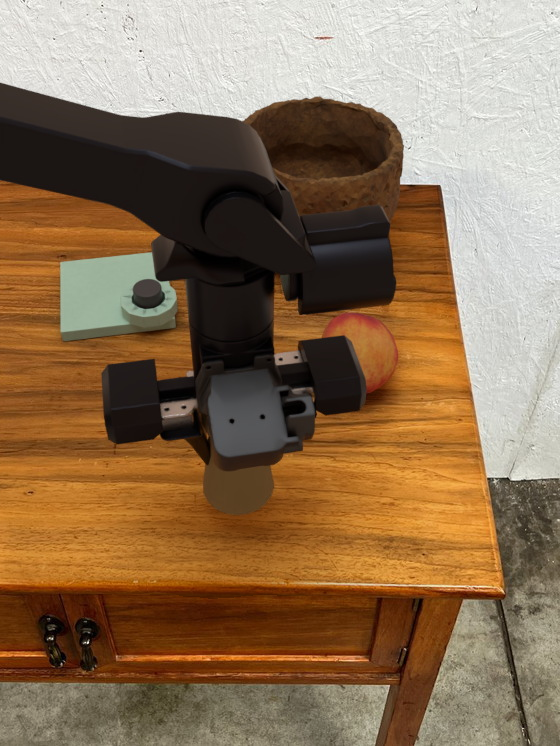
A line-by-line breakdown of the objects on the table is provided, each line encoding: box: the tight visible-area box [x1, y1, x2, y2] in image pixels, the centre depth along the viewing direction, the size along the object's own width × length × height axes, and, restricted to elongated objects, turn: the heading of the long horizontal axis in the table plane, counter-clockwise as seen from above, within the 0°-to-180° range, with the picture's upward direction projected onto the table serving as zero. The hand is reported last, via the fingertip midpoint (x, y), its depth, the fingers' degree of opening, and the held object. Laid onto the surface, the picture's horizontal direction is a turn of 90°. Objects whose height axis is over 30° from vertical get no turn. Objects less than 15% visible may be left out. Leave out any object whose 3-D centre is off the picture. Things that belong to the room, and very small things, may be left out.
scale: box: [59, 251, 179, 342], centre depth 86 cm, size 12×13×3 cm
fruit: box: [321, 312, 399, 395], centre depth 76 cm, size 8×8×8 cm
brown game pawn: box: [201, 413, 275, 516], centre depth 62 cm, size 6×6×11 cm
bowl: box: [241, 95, 405, 223], centre depth 89 cm, size 19×19×15 cm
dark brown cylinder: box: [133, 279, 163, 309], centre depth 82 cm, size 3×3×2 cm
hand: (236, 456), depth 63 cm, fingers closed on brown game pawn, 4 cm apart
